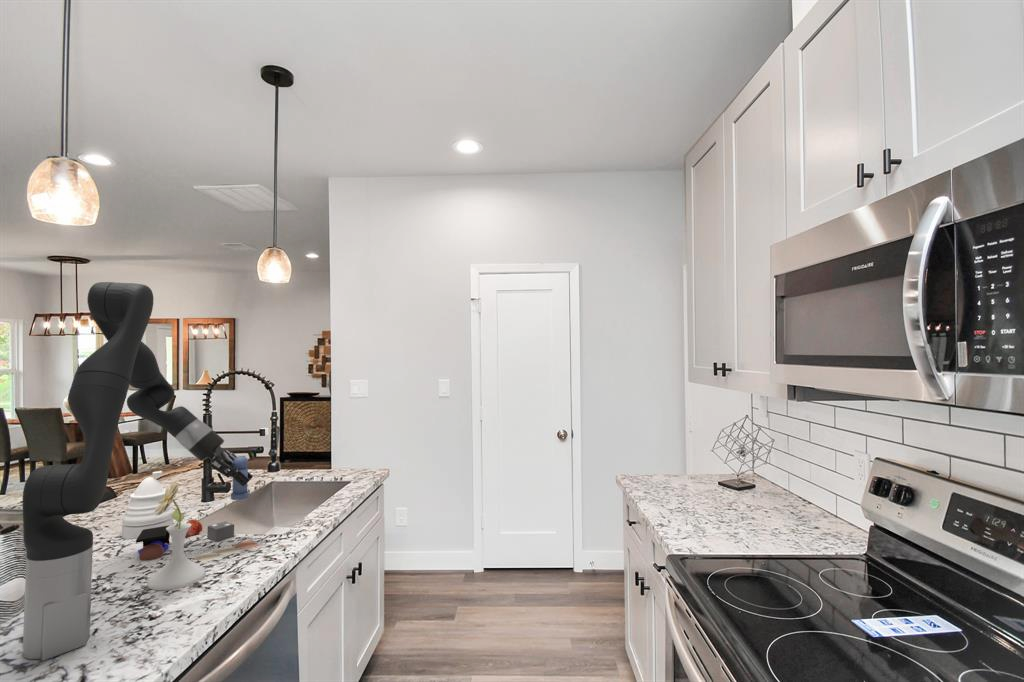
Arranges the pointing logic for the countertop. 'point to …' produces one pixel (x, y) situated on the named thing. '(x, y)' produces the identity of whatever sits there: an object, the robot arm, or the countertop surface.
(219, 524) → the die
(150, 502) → the honey pot
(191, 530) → the pomegranate
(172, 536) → the flower in vase
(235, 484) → the pawn
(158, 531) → the figurine character
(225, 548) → the board
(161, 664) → the countertop surface
